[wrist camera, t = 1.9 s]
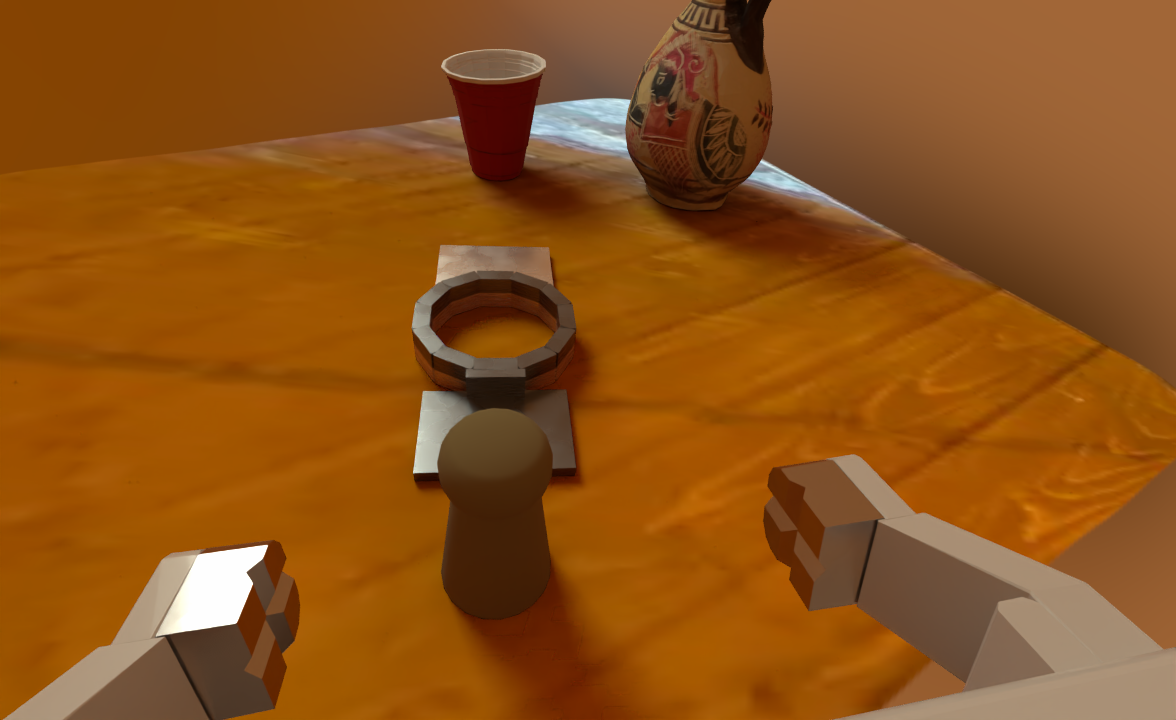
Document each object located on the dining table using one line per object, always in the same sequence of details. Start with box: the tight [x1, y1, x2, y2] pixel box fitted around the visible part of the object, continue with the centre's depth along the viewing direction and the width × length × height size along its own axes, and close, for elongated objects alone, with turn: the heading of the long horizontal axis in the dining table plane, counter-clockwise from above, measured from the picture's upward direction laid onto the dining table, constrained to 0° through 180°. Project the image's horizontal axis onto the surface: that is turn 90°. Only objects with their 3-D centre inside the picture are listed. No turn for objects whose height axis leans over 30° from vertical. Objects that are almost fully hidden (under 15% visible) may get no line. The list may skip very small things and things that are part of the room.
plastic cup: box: [441, 49, 546, 181], centre depth 66 cm, size 11×11×12 cm
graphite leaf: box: [412, 271, 576, 481], centre depth 44 cm, size 12×19×3 cm, turn 7°
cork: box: [437, 408, 553, 619], centre depth 30 cm, size 6×6×11 cm
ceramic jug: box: [625, 0, 773, 222], centre depth 60 cm, size 17×16×30 cm
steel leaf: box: [414, 245, 575, 391], centre depth 50 cm, size 12×19×1 cm, turn 7°
